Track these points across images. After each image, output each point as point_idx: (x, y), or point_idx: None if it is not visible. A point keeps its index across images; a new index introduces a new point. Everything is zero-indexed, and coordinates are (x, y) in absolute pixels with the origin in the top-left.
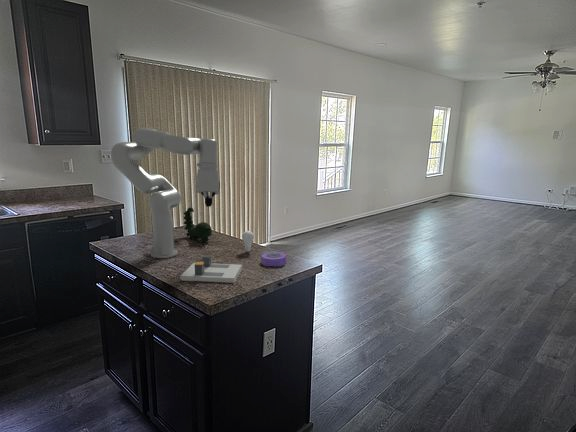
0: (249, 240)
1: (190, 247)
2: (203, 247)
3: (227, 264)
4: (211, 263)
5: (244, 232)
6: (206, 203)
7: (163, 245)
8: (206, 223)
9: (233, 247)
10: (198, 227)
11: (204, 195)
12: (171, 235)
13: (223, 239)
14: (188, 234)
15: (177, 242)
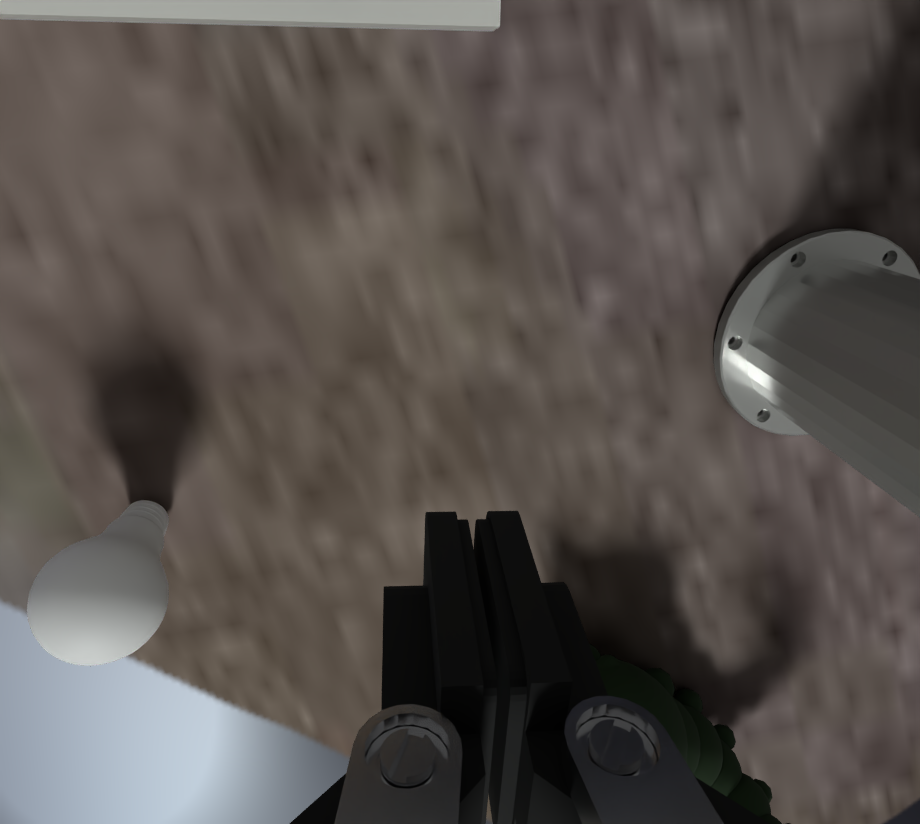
0: (72, 544)
1: (647, 529)
2: (548, 545)
3: (132, 3)
4: (313, 21)
5: (113, 616)
6: (515, 556)
7: (874, 286)
8: None
9: (312, 586)
10: None
11: (663, 778)
12: (859, 380)
13: None
14: (718, 734)
15: (765, 614)
